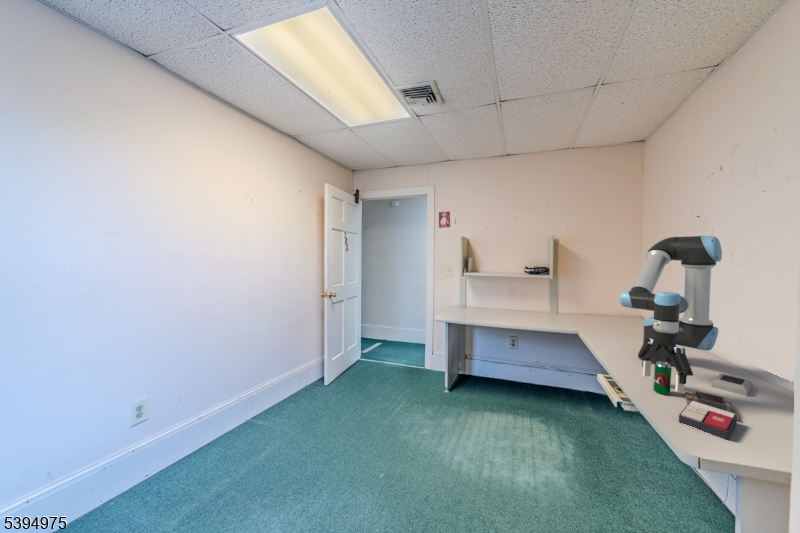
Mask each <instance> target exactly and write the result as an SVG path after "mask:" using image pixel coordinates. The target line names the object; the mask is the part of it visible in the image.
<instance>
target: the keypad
mask: <svg viewBox="0 0 800 533" xmlns="http://www.w3.org/2000/svg"><path fill="white" fill-rule="evenodd" d="M711 388H713V389H714V388H715V389H719V390H723V391H726V392H729V393H733V394H737V395H741V396H745V397H748V394H749V393H750V392H751V390H752V388H753V381H751V380H750V379H747V378H742V377H739V376H733V375H729V374H725V373H719V374H718V376H717V377H715V379H714V380H713V381H712V382H711Z"/></svg>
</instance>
